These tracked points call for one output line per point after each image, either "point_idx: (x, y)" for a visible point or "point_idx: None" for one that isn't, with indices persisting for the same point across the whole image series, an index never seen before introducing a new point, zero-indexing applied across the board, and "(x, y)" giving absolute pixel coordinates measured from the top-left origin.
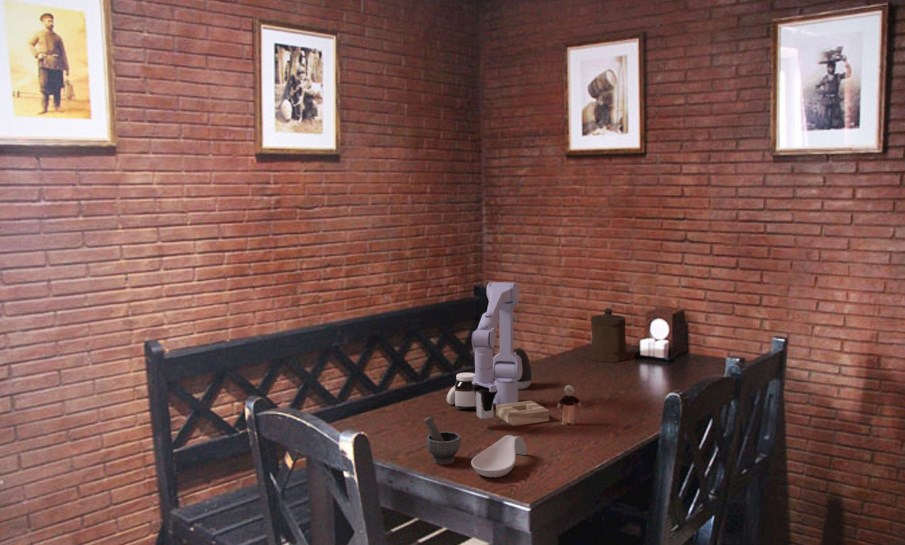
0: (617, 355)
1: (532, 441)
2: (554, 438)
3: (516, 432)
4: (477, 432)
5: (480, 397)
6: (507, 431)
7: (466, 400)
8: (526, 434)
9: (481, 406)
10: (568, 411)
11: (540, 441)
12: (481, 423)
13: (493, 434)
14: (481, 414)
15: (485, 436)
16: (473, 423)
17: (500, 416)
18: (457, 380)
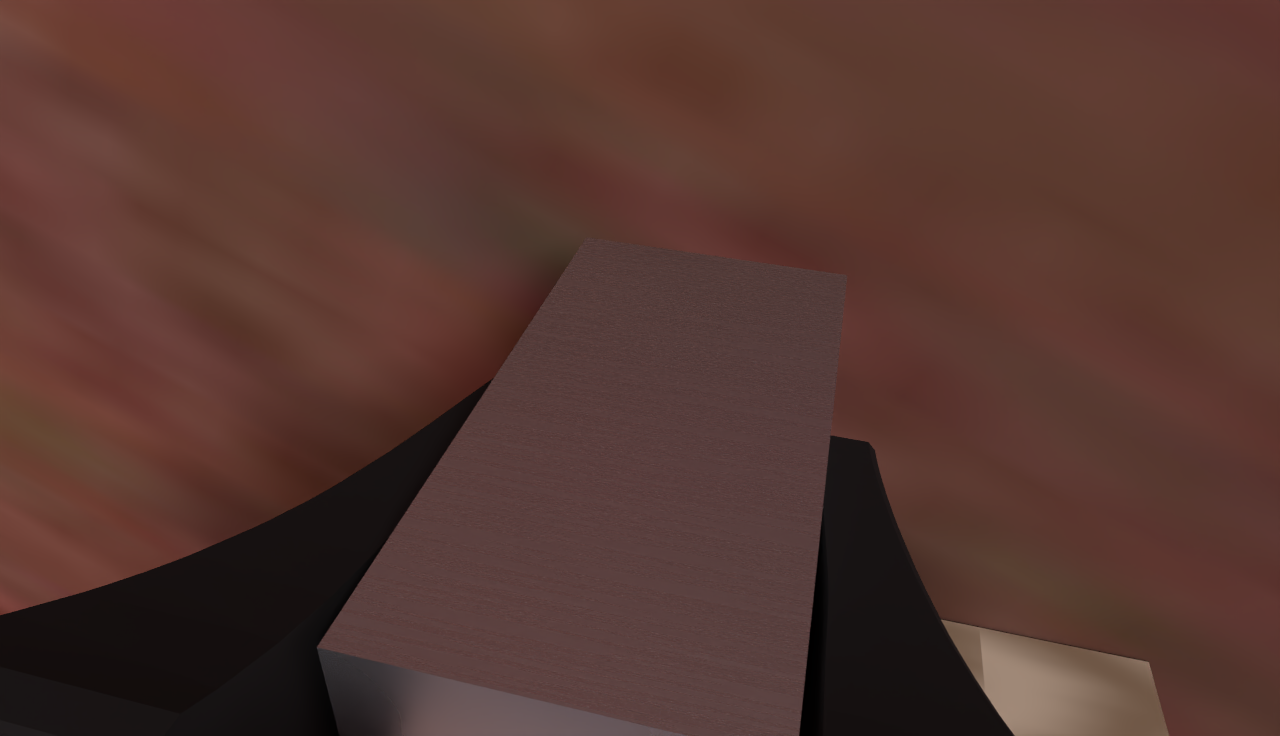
0: None
1: (34, 404)
2: (105, 582)
3: (358, 450)
4: (538, 20)
5: (429, 560)
6: (426, 398)
7: None
8: (264, 485)
9: (491, 388)
10: None
11: (30, 457)
12: (951, 322)
13: (361, 189)
14: (559, 283)
15: (302, 35)
16: (1048, 217)
17: (994, 647)
18: None
